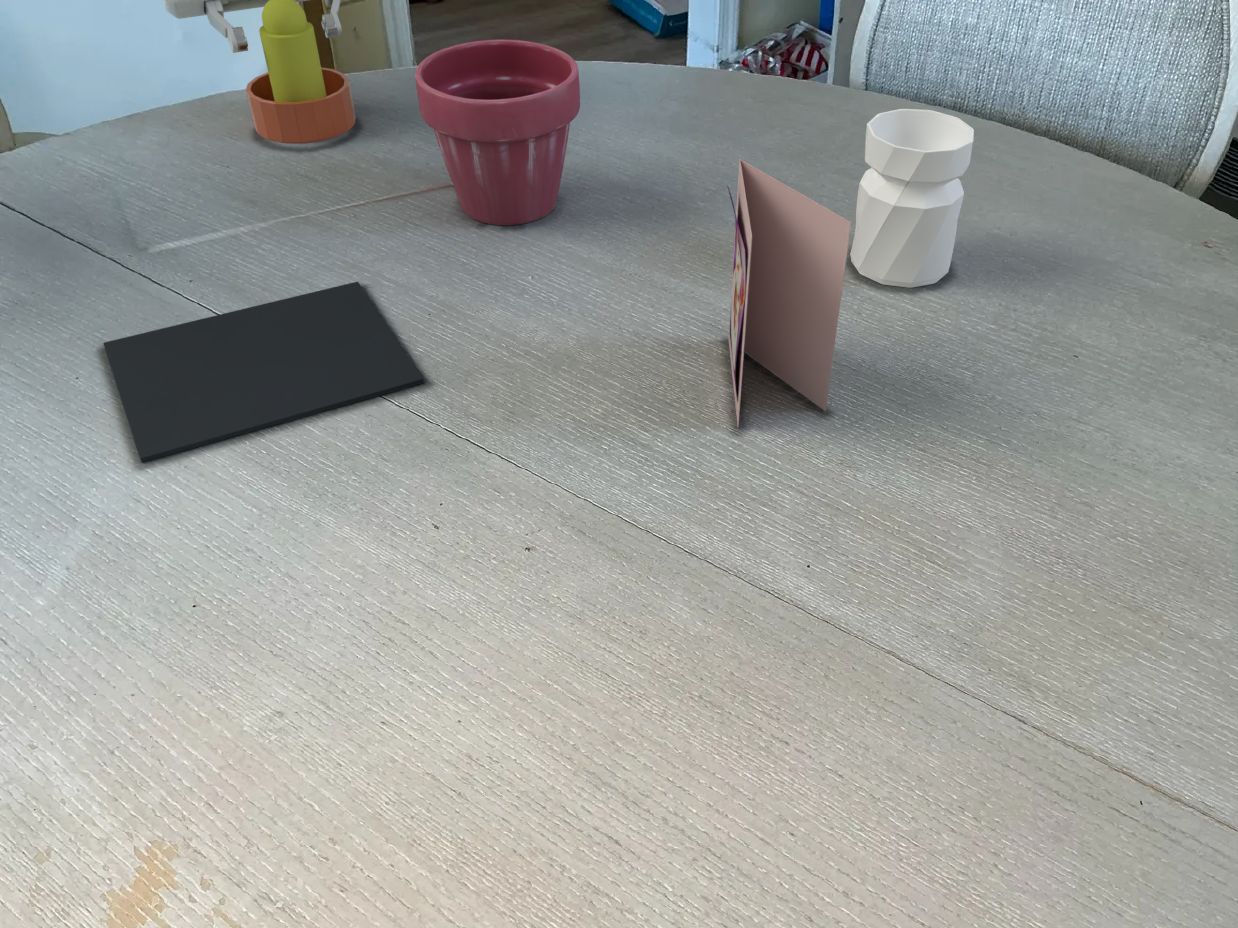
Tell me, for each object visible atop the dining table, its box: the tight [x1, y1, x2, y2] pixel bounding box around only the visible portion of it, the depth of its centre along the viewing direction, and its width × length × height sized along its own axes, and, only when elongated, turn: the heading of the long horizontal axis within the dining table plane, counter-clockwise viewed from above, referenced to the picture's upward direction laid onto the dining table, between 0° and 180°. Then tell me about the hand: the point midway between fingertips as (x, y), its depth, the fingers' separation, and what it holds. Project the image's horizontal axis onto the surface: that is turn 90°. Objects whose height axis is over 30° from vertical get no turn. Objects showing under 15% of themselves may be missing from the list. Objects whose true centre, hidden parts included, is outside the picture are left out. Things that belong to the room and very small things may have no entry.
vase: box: [849, 108, 975, 289], centre depth 93 cm, size 9×9×12 cm
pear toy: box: [258, 0, 326, 102], centre depth 111 cm, size 5×5×14 cm
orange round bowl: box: [245, 66, 357, 144], centre depth 115 cm, size 10×10×4 cm
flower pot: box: [414, 39, 581, 226], centre depth 100 cm, size 14×14×13 cm
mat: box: [102, 281, 425, 463], centre depth 83 cm, size 20×16×1 cm
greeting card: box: [726, 158, 852, 429], centre depth 78 cm, size 11×7×15 cm, turn 1°
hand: (288, 42), depth 111 cm, fingers open, 8 cm apart
